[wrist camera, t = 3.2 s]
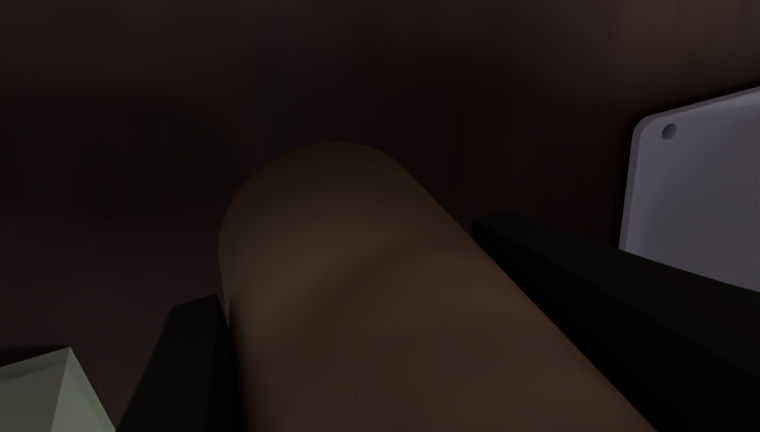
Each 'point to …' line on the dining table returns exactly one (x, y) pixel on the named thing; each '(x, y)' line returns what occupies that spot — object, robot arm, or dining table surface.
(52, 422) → the tray
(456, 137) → the dining table surface
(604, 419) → the plug
